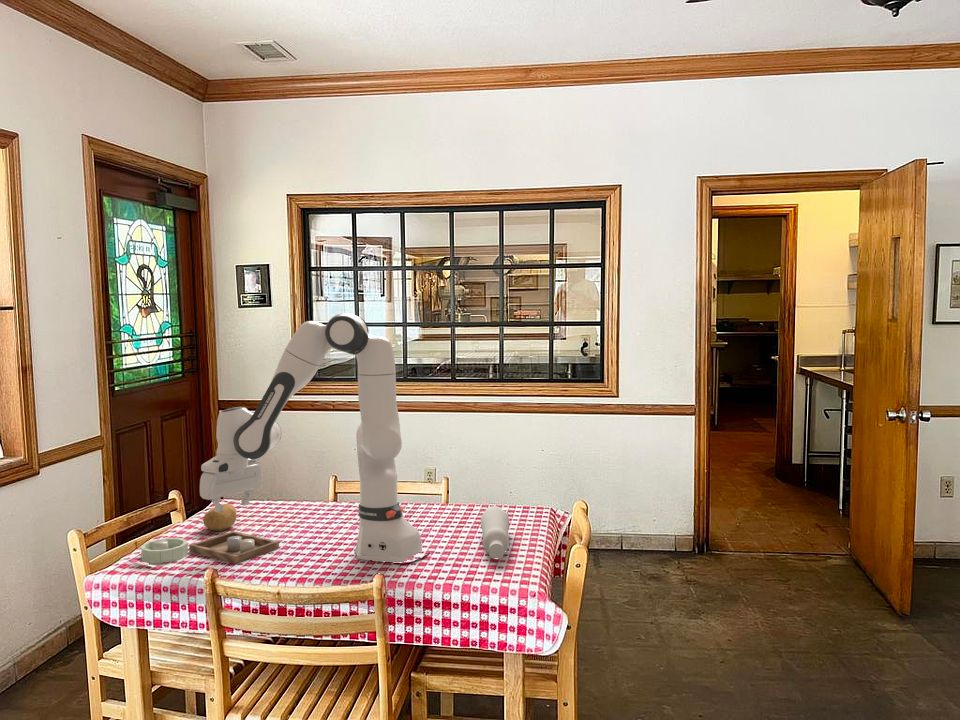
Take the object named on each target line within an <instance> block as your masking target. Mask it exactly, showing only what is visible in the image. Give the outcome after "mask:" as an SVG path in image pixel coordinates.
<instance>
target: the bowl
mask: <svg viewBox="0 0 960 720" xmlns="http://www.w3.org/2000/svg"><path fill="white" fill-rule="evenodd" d="M159 540H167V541H168V549H164V550H153V542H155V541H159ZM140 553H141V563H142V562H147V563H150V564H164V562H165V563H171V562H175V561H178V560H181V559H184V558H185V557H186V556H188V554H189V546H188V541H187V539H186V538H185V539H184V538H182V537H181V538H180V537H165V538H159V539H154V540H150V541H147V542H145V543H144V544H142V545H141V546H140Z"/></svg>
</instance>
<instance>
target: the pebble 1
mask: <svg viewBox="0 0 960 720" xmlns="http://www.w3.org/2000/svg"><path fill="white" fill-rule="evenodd" d="M164 549H168V541H167V540H159V541H155V542H153V550H164Z"/></svg>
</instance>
